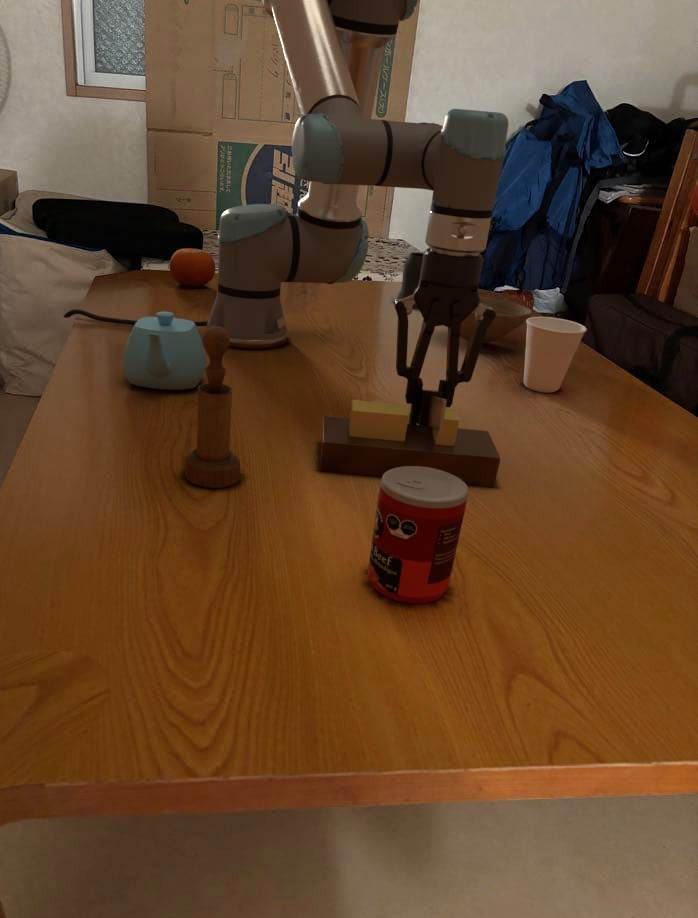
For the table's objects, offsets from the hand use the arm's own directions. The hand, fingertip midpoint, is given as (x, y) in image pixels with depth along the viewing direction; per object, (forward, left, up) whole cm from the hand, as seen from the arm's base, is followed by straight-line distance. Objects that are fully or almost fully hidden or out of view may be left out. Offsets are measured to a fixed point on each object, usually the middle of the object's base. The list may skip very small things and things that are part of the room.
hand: (423, 426), depth 108 cm
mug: (+7, +88, -2) cm, 88 cm away
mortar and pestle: (-27, -18, -2) cm, 33 cm away
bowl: (+17, +56, -2) cm, 58 cm away
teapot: (-39, +14, -2) cm, 42 cm away
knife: (0, -5, +2) cm, 6 cm away
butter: (-7, -9, +2) cm, 12 cm away
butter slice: (+1, -9, +2) cm, 10 cm away
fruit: (-46, +85, -2) cm, 96 cm away
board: (-3, -9, -2) cm, 10 cm away
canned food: (-5, -38, -2) cm, 39 cm away
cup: (+24, +30, -2) cm, 38 cm away
